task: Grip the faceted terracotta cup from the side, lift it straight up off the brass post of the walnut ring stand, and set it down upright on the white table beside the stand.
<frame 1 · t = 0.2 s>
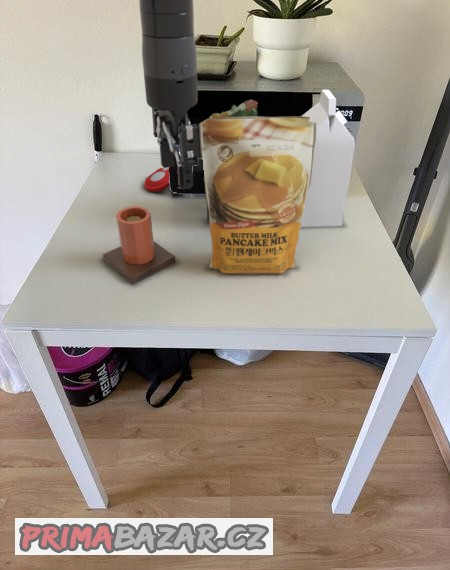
hand: (176, 176, 73), 19 cm above the table, tool pointing down, fingers open, 8 cm apart
faceted terracotta cup: (138, 255, 85), point 1 cm above the table, touching ring stand
pancake mix bag: (251, 265, 86), on the table
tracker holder: (165, 189, 110), on the table
pouch: (230, 218, 99), on the table
milk: (310, 213, 101), on the table
ring stand: (139, 261, 86), on the table
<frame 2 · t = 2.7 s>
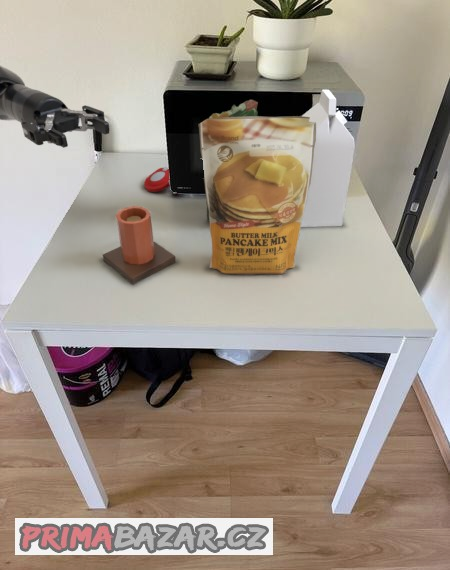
hand: (86, 134, 78), 22 cm above the table, tool horizontal, fingers open, 8 cm apart
nothing on the table moved.
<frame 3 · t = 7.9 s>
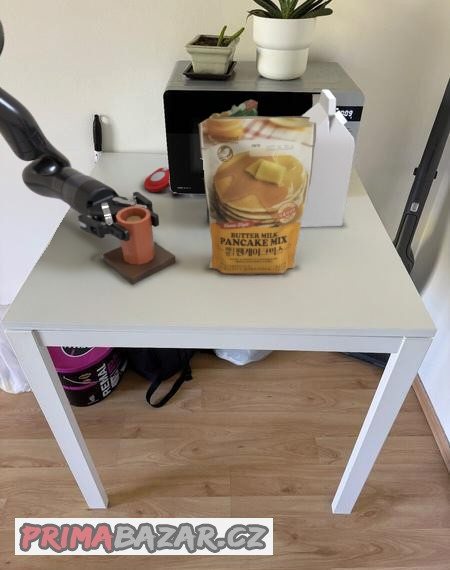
hand: (142, 228, 80), 9 cm above the table, tool horizontal, fingers closed on faceted terracotta cup, 6 cm apart
faceted terracotta cup: (138, 255, 85), point 2 cm above the table, touching gripper, ring stand
everything else where it was.
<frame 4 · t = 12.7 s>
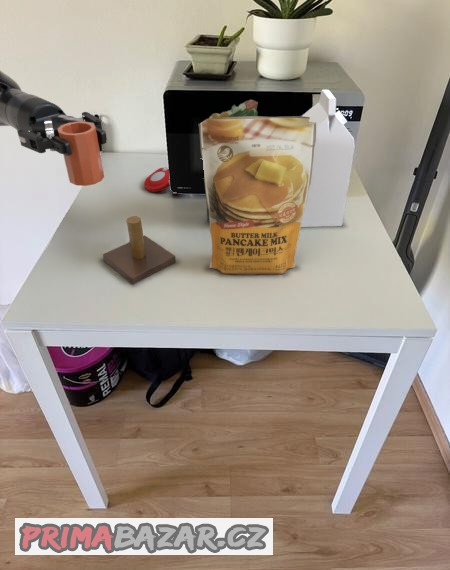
hand: (86, 143, 73), 23 cm above the table, tool horizontal, fingers closed on faceted terracotta cup, 6 cm apart
faceted terracotta cup: (86, 177, 79), point 16 cm above the table, touching gripper
everything else where it was.
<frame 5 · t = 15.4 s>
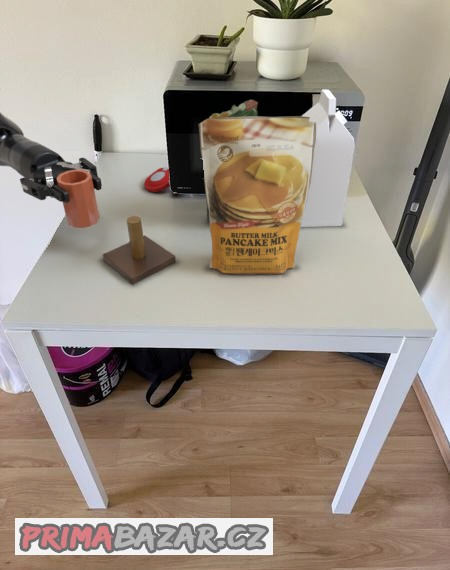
hand: (83, 191, 80), 13 cm above the table, tool horizontal, fingers closed on faceted terracotta cup, 6 cm apart
faceted terracotta cup: (83, 219, 86), point 6 cm above the table, touching gripper
everything else where it was.
when the fingers open (7 cm above the table, at t = 17.8 s): faceted terracotta cup stays where it is, on the table.
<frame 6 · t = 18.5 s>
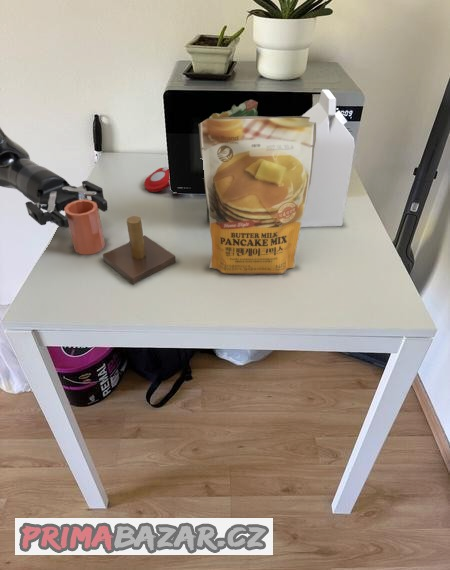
hand: (86, 214, 84), 8 cm above the table, tool horizontal, fingers open, 8 cm apart
faceted terracotta cup: (89, 246, 90), on the table
everything else where it was.
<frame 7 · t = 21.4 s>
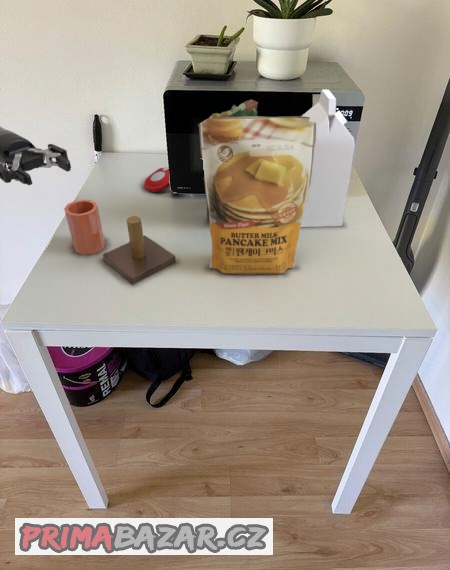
hand: (49, 173, 88), 12 cm above the table, tool horizontal, fingers open, 8 cm apart
nothing on the table moved.
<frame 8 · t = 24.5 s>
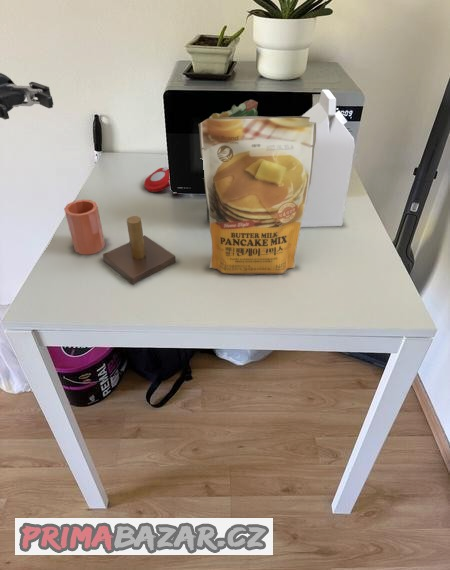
hand: (28, 107, 80), 25 cm above the table, tool horizontal, fingers open, 8 cm apart
nothing on the table moved.
at the end: faceted terracotta cup inside the target area (0.1 cm from its centre), on the table; faceted terracotta cup tilted 0°; the gripper is holding nothing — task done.
